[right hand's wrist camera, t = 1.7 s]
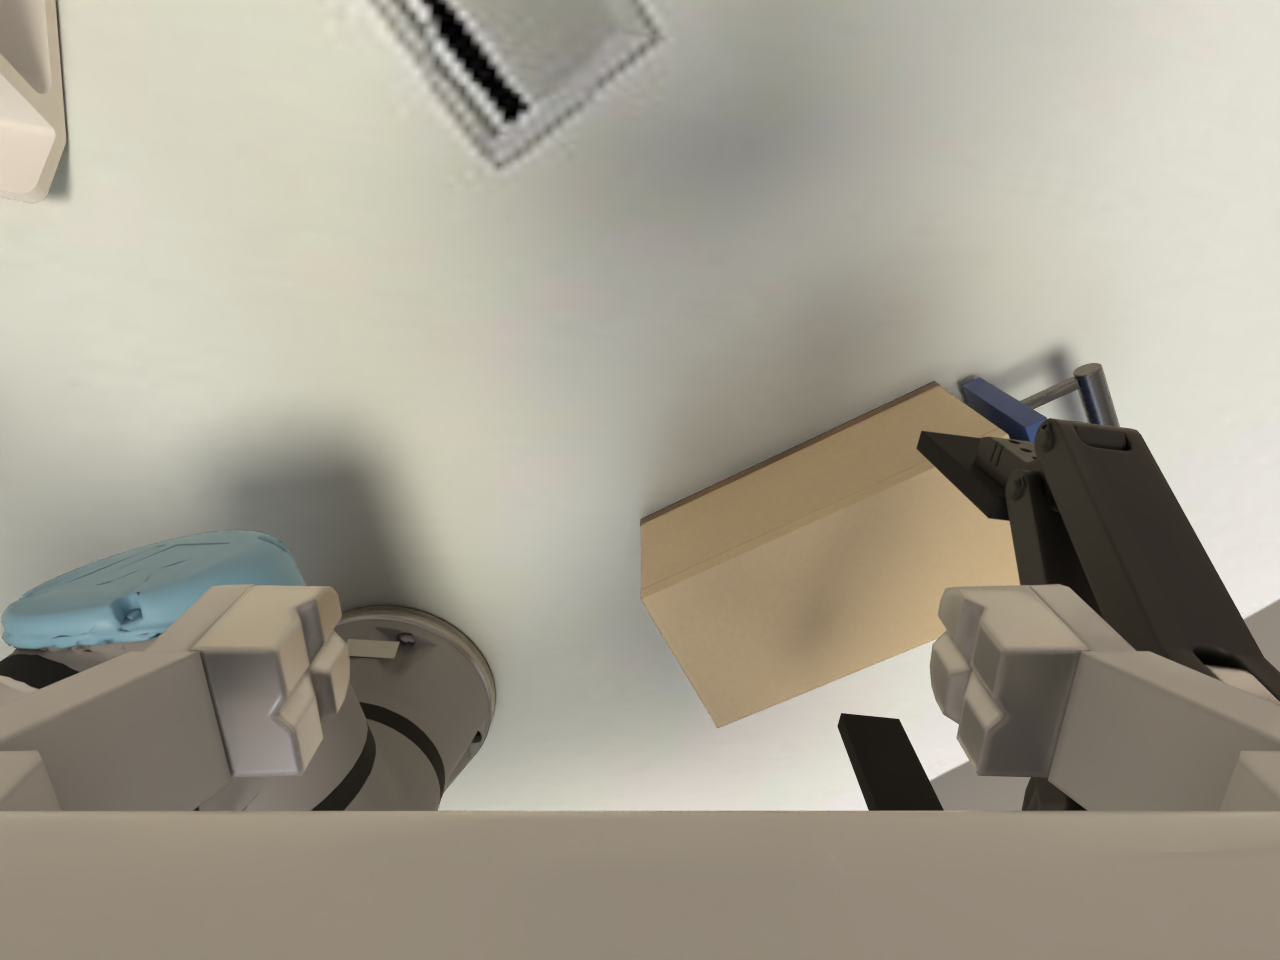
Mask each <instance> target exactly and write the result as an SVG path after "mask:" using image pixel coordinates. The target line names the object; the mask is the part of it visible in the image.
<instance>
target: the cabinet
mask: <svg viewBox="0 0 1280 960" xmlns="http://www.w3.org/2000/svg"><path fill="white" fill-rule="evenodd" d="M921 431H928V432H936V433H944V434H952V435H960V436H968V437H976V438H981V437H997V438H1005V439H1010V438H1009V435H1008V434H1007V433H1006V432H1004V431H1003V430H1001V429H1000V428H998V427H997V426H995V425H994V424H993V423H991V422H990V421H988V420H987V419H986V418H984V417H983V416H981V415H980V414H978V413H977V412H976V411H974V410H973V409H971V408H970V407H969V406H967V405H966V404H964V403H963V402H962V401H960V400H959V399H957V398H956V397H955V396H953V395H952V394H950V393H949V392H948V391H946V390H945V389H943V388H942V387H941V386H940V385H939V384H937V383H936V382H935V381H934V382H932V383H930V384H928V385H925V386H923V387H921V388H919V389H917V390H915V391H913V392H911V393H908V394H906V395H904V396H902V397H900V398H898V399H896V400H894V401H891V402H889V403H887V404H885V405H883V406H881V407H879V408H877V409H874V410H872V411H870V412H868V413H866V414H864V415H862V416H860V417H857V418H855V419H853V420H851V421H849V422H847V423H845V424H843V425H840V426H838V427H836V428H834V429H832V430H830V431H828V432H826V433H823V434H821V435H819V436H817V437H815V438H813V439H811V440H809V441H806V442H804V443H802V444H800V445H798V446H796V447H794V448H792V449H789V450H787V451H785V452H783V453H781V454H779V455H777V456H775V457H772V458H770V459H768V460H766V461H764V462H762V463H760V464H758V465H755V466H753V467H751V468H749V469H747V470H745V471H743V472H741V473H738V474H736V475H734V476H732V477H730V478H728V479H726V480H723V481H721V482H719V483H717V484H715V485H713V486H711V487H709V488H706V489H704V490H702V491H700V492H698V493H696V494H694V495H692V496H689V497H687V498H685V499H683V500H681V501H679V502H677V503H675V504H672V505H670V506H668V507H666V508H664V509H662V510H660V511H658V512H655V513H653V514H651V515H649V516H647V517H645V518H643V519H641V520H640V526H641V601H642V602H643V604H644V606H645V607H646V609H647V611H648V612H649V614H650V616H651V617H652V619H653V621H654V622H655V624H656V626H657V627H658V629H659V631H660V632H661V634H662V636H663V637H664V639H665V641H666V642H667V644H668V646H669V647H670V649H671V651H672V653H673V654H674V656H675V658H676V659H677V661H678V663H679V664H680V666H681V668H682V669H683V671H684V673H685V674H686V676H687V678H688V679H689V681H690V683H691V684H692V686H693V688H694V689H695V691H696V693H697V694H698V696H699V698H700V699H701V701H702V703H703V704H704V706H705V708H706V709H707V711H708V713H709V714H710V716H711V718H712V720H713V721H714V723H715V725H716V726H717V728H720V727H722V726H724V725H727V724H729V723H732V722H734V721H737V720H739V719H742V718H744V717H746V716H749V715H751V714H754V713H756V712H759V711H761V710H764V709H766V708H768V707H771V706H773V705H776V704H778V703H781V702H783V701H786V700H788V699H791V698H793V697H795V696H798V695H800V694H803V693H805V692H808V691H810V690H813V689H815V688H817V687H820V686H822V685H825V684H827V683H830V682H832V681H835V680H837V679H839V678H842V677H844V676H847V675H849V674H852V673H854V672H857V671H859V670H861V669H864V668H866V667H869V666H871V665H874V664H876V663H879V662H881V661H884V660H886V659H888V658H891V657H893V656H896V655H898V654H901V653H903V652H906V651H908V650H910V649H913V648H915V647H918V646H920V645H923V644H925V643H928V642H930V641H932V640H935V639H937V638H939V637H940V636H941V635H942V634H943V633H944V632H945V631H946V628H945V627H944V625H943V623H942V622H941V620H940V619H939V617H938V611H939V605H940V600H941V597H942V595H943V593H944V591H945V589H946V588H950V587H969V586H1010V585H1020V581H1019V575H1018V569H1017V563H1016V557H1015V551H1014V545H1013V539H1012V533H1011V527H1010V521H1006V520H997V519H989V518H988V517H987V516H985V515H984V514H983V513H982V512H981V511H980V510H979V509H978V508H977V507H976V506H975V505H974V504H973V503H972V502H971V501H970V500H969V499H968V498H967V497H966V496H965V495H964V494H963V493H962V492H961V491H960V490H959V489H957V488H956V487H955V486H954V485H953V484H952V483H951V482H950V481H949V480H948V479H947V478H946V477H945V476H944V475H943V474H942V473H941V472H940V471H939V470H938V469H937V468H936V467H935V466H934V465H933V464H932V463H931V462H929V461H928V460H927V459H926V458H925V457H924V456H923V455H922V454H921V453H920V452H919V451H918V450H917V449H916V448H917V444H918V441H919V437H920V434H921Z"/></svg>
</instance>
